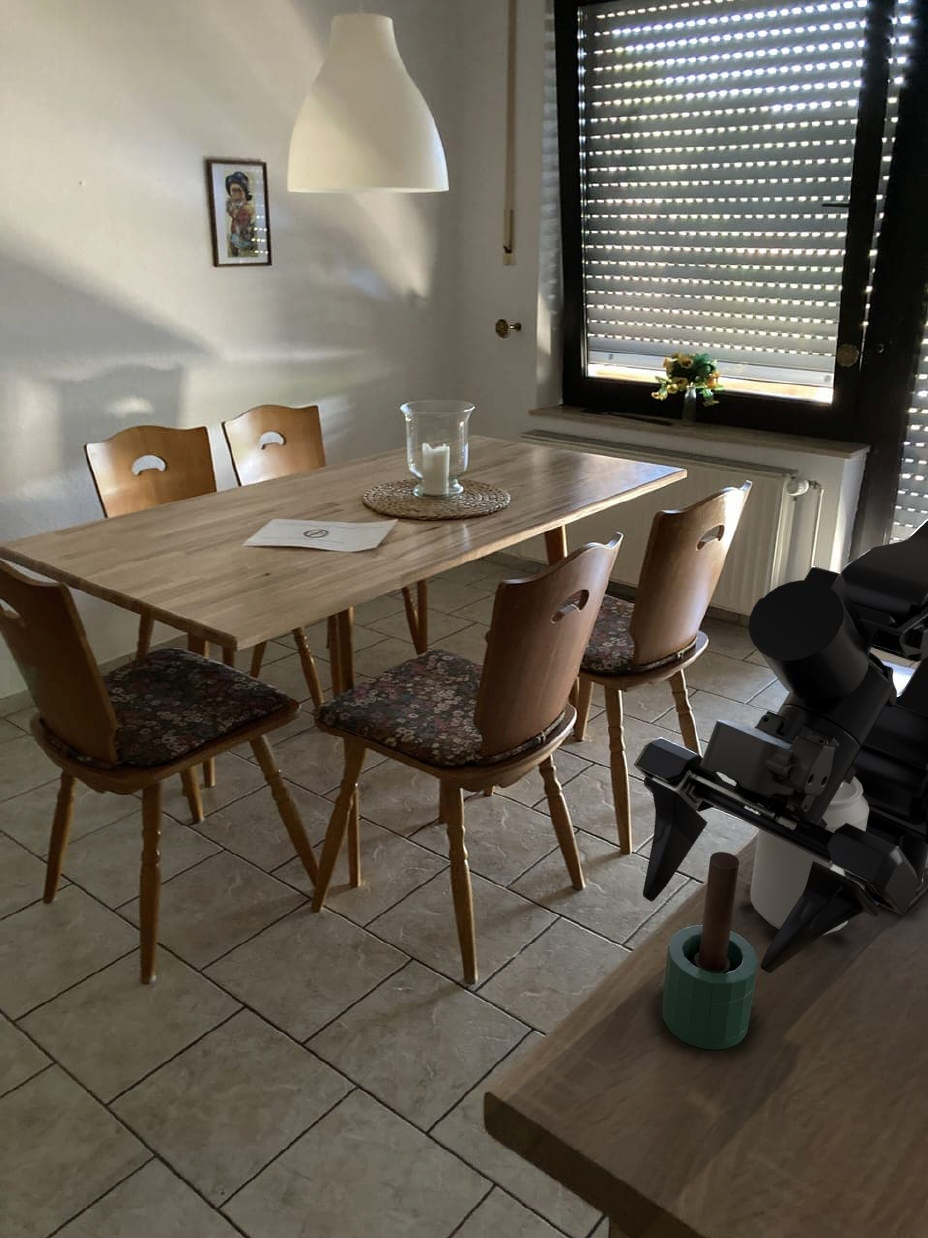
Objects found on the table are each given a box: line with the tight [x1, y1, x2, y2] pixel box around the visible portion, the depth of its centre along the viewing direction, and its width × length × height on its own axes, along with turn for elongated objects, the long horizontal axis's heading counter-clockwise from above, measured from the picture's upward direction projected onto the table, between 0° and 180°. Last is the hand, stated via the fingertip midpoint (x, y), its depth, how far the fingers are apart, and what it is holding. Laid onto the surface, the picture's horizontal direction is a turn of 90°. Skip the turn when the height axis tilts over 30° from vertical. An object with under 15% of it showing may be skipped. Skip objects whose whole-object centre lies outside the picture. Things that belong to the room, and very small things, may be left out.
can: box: [749, 776, 869, 936], centre depth 78 cm, size 8×8×12 cm
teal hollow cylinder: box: [661, 924, 759, 1051], centre depth 69 cm, size 6×6×6 cm
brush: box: [693, 851, 740, 973], centre depth 67 cm, size 2×2×12 cm
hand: (703, 933), depth 66 cm, fingers open, 9 cm apart
